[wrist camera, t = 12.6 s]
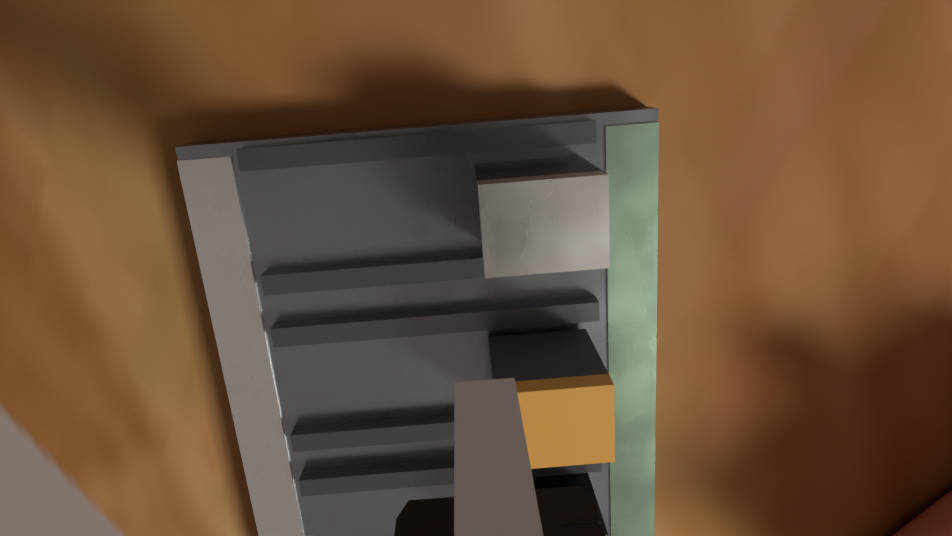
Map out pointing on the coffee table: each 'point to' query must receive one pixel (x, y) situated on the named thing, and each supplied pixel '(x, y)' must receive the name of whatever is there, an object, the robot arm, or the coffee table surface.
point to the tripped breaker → (559, 395)
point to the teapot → (931, 520)
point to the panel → (422, 300)
